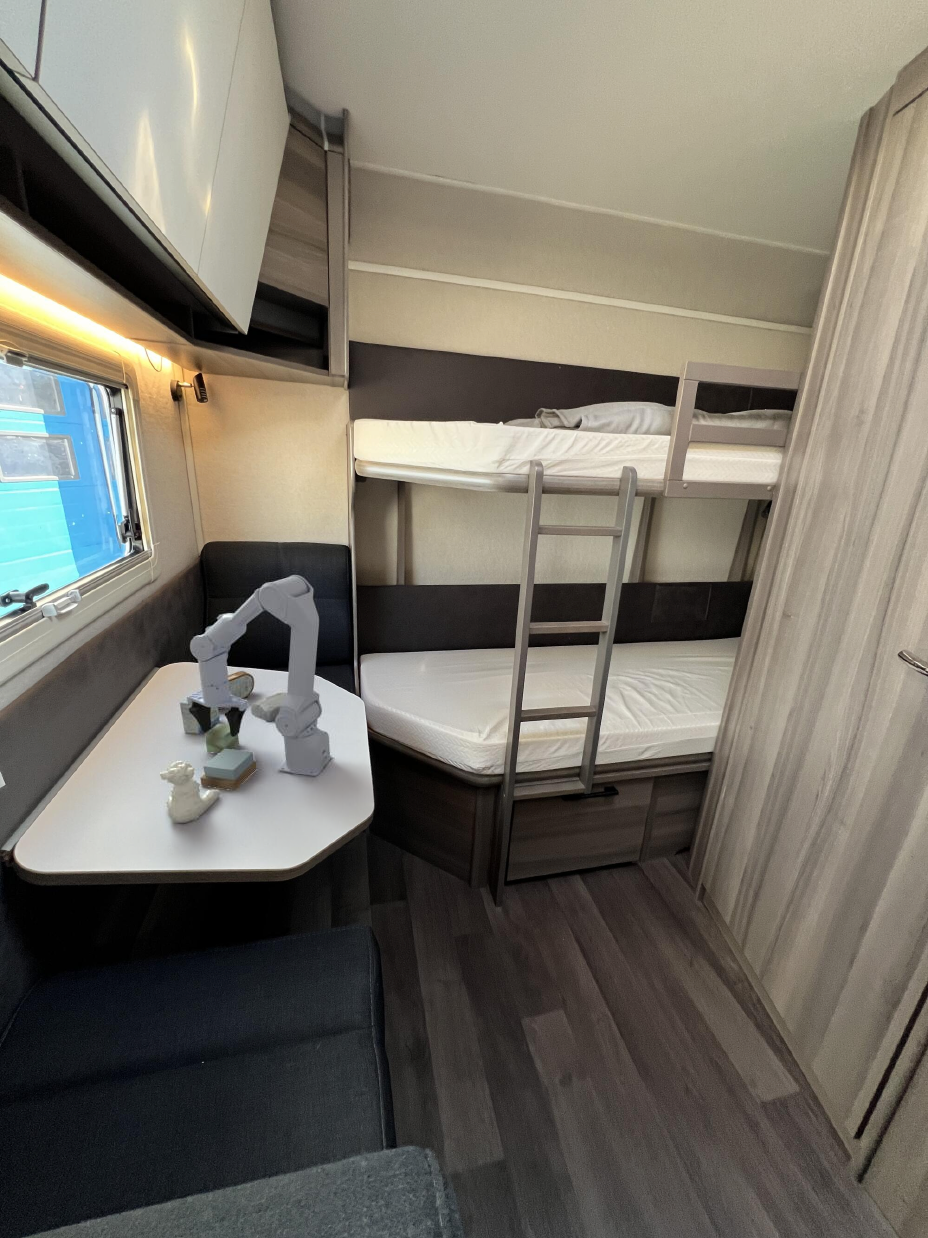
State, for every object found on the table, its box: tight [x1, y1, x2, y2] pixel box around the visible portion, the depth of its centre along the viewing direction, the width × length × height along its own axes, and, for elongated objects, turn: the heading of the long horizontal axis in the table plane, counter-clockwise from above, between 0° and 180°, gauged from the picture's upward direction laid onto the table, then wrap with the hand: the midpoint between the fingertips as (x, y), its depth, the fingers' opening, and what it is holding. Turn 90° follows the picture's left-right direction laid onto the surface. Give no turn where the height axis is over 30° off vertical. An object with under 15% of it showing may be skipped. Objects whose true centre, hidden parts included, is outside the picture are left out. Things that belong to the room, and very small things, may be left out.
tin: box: [218, 670, 255, 710], centre depth 136 cm, size 15×3×8 cm, turn 154°
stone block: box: [250, 692, 287, 723], centre depth 133 cm, size 12×5×10 cm
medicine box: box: [179, 690, 220, 735], centre depth 122 cm, size 8×4×9 cm, turn 168°
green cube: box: [204, 723, 240, 754], centre depth 113 cm, size 5×5×5 cm
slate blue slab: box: [203, 748, 255, 780], centre depth 102 cm, size 7×7×2 cm
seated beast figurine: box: [159, 760, 221, 824], centre depth 90 cm, size 10×9×12 cm
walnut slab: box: [200, 760, 258, 791], centre depth 103 cm, size 8×8×2 cm
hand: (221, 732), depth 113 cm, fingers open, 7 cm apart
